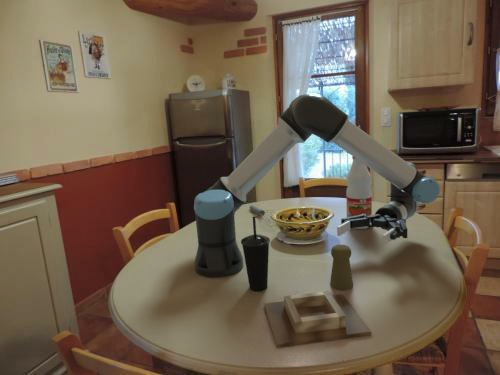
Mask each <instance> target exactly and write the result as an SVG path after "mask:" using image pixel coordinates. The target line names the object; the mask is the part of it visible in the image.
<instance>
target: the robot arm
mask: <svg viewBox="0 0 500 375" xmlns="http://www.w3.org/2000/svg"><path fill="white" fill-rule="evenodd" d="M277 121H278V124H277V125H276V126H275V127H274V128H273V130H271V131H270V132H269V134H267V135H266V137H265V138H264V139H263V140H262V141H261V142H260V143H259V144H258V145H257V146H256V147H255V148H254V149H253V150H252V151H251V153H250V154H249V155H247V157H246V158H245V159H244V160H243V161H241V163H240V164H239V165H237V167H236V168H235V169H234V170H233V171H232V172H231V173H230V174H229V175H228V176H221V177H220V178H219V179H218V180H217V181H216V182H215V183H214V184H213V185H212V186H210V187H209V188H208V189H207V190H205V191H203V192H200V193H198V194H197V195H196V196H195V197H194V204H193V210H194V214H195V225H196V236H197V244H198V245H197V246H198V247H197V251H196V255H195V259H194V271H195V272H196V274H198V276H201V277H205V278H206V277H207V278H223V277H228V276H232V275H235V274H237V273H238V272H240V271H241V270H242V269H243V267H244V258H243V255H242V251H241V250H240V248H239V245H238V242H237V238H236V236H237V233H236V223H235V222H236V221H235V220H236V219H235V213H236V212H237V211H238V210H239V209H240V208H241V207H242V206H243V205H244V204H245V203H246V202H247V194H248V193H249V192H250V191H252V190H253V188H254V187H255V186H256V185H257V184H258V183H259V182H260V181H261V180H263V178H264V177H265V176H266V175H267V174H268V173H269V172H270V171H271V170H272V169H273V168H275V166H276V165H277V164H278V163H279V162H280V161H281V160H282V159H283V158H284V157H285V156H286V155H287V154H288V153H289V152H290V151H291V150H292V149H293V148H294V147H295V146H296V144H303V143H305V142H306V141H307V140H308V139H309V138H310V137H311V136H312V135H314V136H315V137H318V138H320V139H322V140H323V141H324V142H325V143H328V144H329V143H334V144H335V145H337V146H338V148H341V149H342V150H343V151H344V152H346V153H347V154H348V155H350V156H353V157H355V158H356V159H358V160H359V161H360V162H362V163H363V164H365V165H366V166H367V168H368V169H370V170H372V171H373V172H375V173H376V174H377V175H379V176H380V177H382V178H384V179H385V180H386V181H388V182H389V183H390V198H389V199H390V200H389V201H390V202H388V203H386V204H384V205H383V206H382V207H379V208H377V210H376V211H375V213H374V214H372V216H367V214H366V213H363V214H361V215H357V216H352V217H347V216H346V217H343V218H341V219H340V222H341V223H340V225H338V226H336V230H337V231H336V232H337V236H338V237H341V236H342V235H344V234H345V233H347V232H350V231H351V229H354V228H356V227H365V226H367V227H368V228H380V229H382V230H384V231H386V232H385V233H383V234H382V239H381V241H382V244H381V245H382V246H386V245H387V244H389V243H390V242H391V241H394V240H397V239H400V238H403V239H408V228H407V227H408V226H407V220H408V219H409V218H411V217H413V216H414V215H415V213H416V212H417V211H418V208H419V203H421V204H430V203H433V202H435V201H436V200H437V199H438V197H439V196H440V192H441V187H440V184H439V183H438V181H436V180H434V179H433V177H429V176H427V175H426V174H424V173H423V172H421V171H420V170H418V169H417V168H416V166H415V164H414V163H413V162H408V161H406V160H404V158H401V157H400V156H399V155H398V154H396V153H395V152H393V151H392V150H390V149H389V148H388V147H386V146H385V145H383V144H382V143H380V142H379V141H378V140H377V139H375V138H374V137H373V136H371V135H370V134H368V133H367V132H365V131H364V130H362V129H361V128H360V127H358V126H357V125H355V124H354V123H353V122H352V121H351V120H350V118H349V115H348V114H347V113H345V112H344V111H343V110H342V109H341V108H339V107H338V106H337V105H335V103H333V102H332V101H331V100H330V99H328V98H327V97H325V95H322V94H319V93H307V94H302V95H299V96H297V97H296V98H295V97H294V99H292V101H291V103H290V104H289V106H288V107H287V108H286V109H285V110H284V111H283V112H282V114H280V116H279V117H278V120H277ZM418 202H419V203H418ZM370 222H371V225H370ZM368 228H367V229H368Z"/></svg>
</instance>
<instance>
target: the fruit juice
mask: <svg viewBox="0 0 500 375" xmlns="http://www.w3.org/2000/svg"><path fill="white" fill-rule="evenodd" d="M351 156H352V155H351ZM351 158H352V164H351V166H350V169H349V171H348V173H347V175H346V182H347V187H346V193H345V194H346V196H345V197H346V218H347V217H352V216H357V215H361V214H363V213H366V214H367V216H372V215H373V214H372V212H373V210H372V208H373V207H372V206H373V198H372V196H373V192H372V186H371V183H372V180H373V179H372V174H371V173H370V171H369V167H368V166H366V165H365V164H363V163H362V162H360V161H359V160H358V159H356V158H355V157H353V156H352V157H351ZM370 225H371V222H370ZM353 229H355V230H366V229H368V227H367V226H365V227H356V228H353Z"/></svg>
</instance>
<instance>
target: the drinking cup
mask: <svg viewBox="0 0 500 375" xmlns="http://www.w3.org/2000/svg"><path fill="white" fill-rule="evenodd" d="M252 225H253V226H252V228H253V234H250V235H248V236H245V237H243V238H242V239H241V240H240V243H241V245H242V249H243V256H244V262H245V266H246V267H245V269H246V273H247V279H248V284H249V285H248V287H249V289H250V291H253V292H259V293H260V292H264V291H265V290H267V289H268V282H269V281H268V279H269V278H268V277H269V254H270V253H269V250H270V246H269V245H270V241H271V239H270V238H269V237H268V236H266V235H262V234H257V223H256V217H255V216H252Z"/></svg>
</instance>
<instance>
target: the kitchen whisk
mask: <svg viewBox="0 0 500 375" xmlns="http://www.w3.org/2000/svg"><path fill="white" fill-rule="evenodd" d="M249 210H250V211H251V212H253V213H254V214H257V215H259V216H260V217H261V220H262V221H264V223H265V224H273V225H272V226H271V225H270V227H274V226H276V225H275V224H276V223H275V221H273V219H272V216H271V215H272V212H273V213H274V214H275V213H276V214H277V212H276V211H274V210H272V209H270V211H272V212H270V211H269V209H268V210H263V209H262V208H259V207H258V206H256V205H254V204H251V205H249ZM266 213H267V216H268V217H271V218H268V217H267V216H265V215H266ZM268 213H269V214H271V215H269V214H268ZM264 217H265V218H266V219H267V220H268V221H269V223H268V222H266V220H265V218H264ZM271 220H272V221H273V222H272V221H271Z"/></svg>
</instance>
